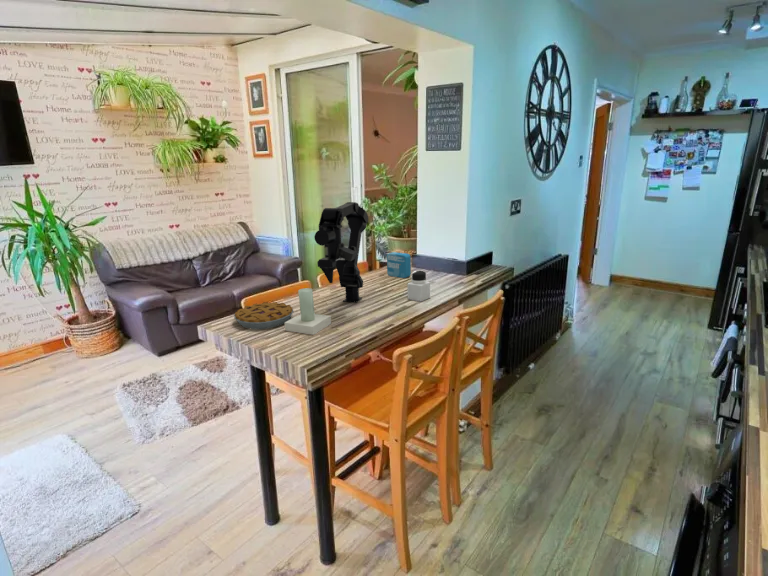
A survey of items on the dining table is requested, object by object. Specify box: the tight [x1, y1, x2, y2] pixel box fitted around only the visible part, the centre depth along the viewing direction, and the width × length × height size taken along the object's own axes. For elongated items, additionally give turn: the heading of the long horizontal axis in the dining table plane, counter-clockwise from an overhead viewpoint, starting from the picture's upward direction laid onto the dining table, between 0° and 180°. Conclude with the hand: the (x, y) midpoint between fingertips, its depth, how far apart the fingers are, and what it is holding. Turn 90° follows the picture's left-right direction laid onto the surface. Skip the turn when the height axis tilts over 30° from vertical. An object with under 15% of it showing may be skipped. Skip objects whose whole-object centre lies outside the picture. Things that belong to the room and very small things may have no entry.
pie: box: [233, 301, 295, 330], centre depth 170 cm, size 22×22×5 cm
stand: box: [284, 313, 332, 336], centre depth 162 cm, size 12×12×3 cm
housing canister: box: [297, 287, 316, 322], centre depth 160 cm, size 5×5×11 cm
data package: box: [386, 251, 412, 279], centre depth 229 cm, size 12×4×12 cm, turn 54°
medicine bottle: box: [407, 270, 431, 303], centre depth 191 cm, size 7×7×12 cm
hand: (336, 280), depth 175 cm, fingers open, 9 cm apart
